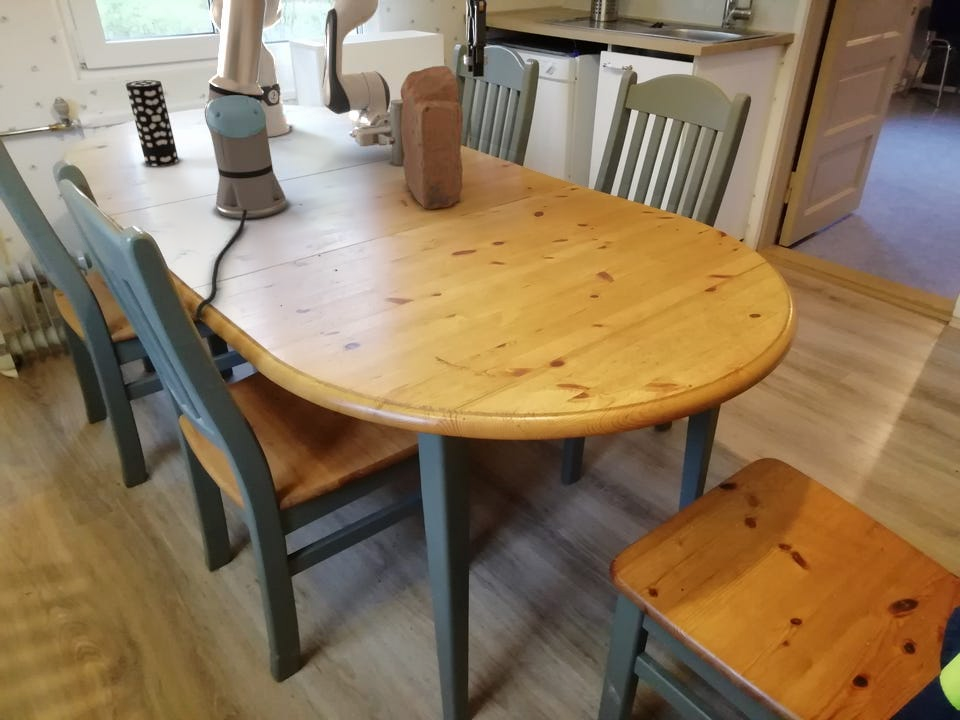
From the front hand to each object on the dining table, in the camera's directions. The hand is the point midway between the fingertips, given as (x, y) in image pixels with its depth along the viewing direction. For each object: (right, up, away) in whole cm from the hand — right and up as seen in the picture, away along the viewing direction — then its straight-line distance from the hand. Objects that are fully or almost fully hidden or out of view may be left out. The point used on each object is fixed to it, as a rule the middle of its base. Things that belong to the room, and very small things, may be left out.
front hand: (475, 73), depth 176 cm
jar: (-20, -19, +13) cm, 31 cm away
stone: (-10, -33, -9) cm, 35 cm away
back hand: (-20, -14, +9) cm, 26 cm away
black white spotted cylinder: (-85, -11, +5) cm, 86 cm away
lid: (0, +3, -2) cm, 4 cm away
